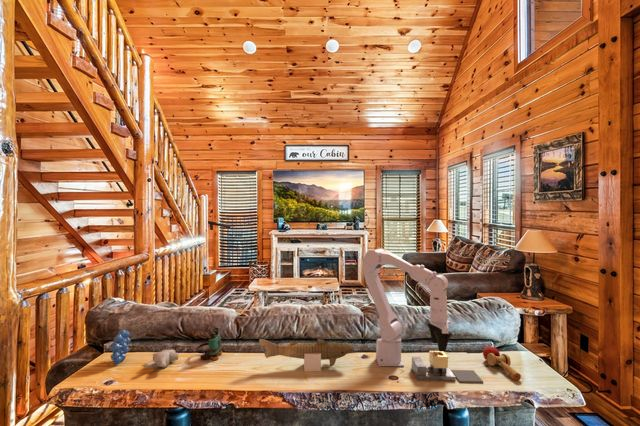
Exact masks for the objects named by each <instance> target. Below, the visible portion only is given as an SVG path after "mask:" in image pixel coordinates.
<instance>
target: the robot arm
mask: <svg viewBox="0 0 640 426" xmlns="http://www.w3.org/2000/svg"><path fill="white" fill-rule="evenodd" d="M362 261H363V271H362V274H363V277H364V279H365V283H366V284H367V287H368V289H369V293H370V295H371V298H372V301H373V303H374V305H375V308H376V310H377V313H378V316H379V318H378V327H379V335H380V338H376V341H375V342H376V345H375V346H376V349H375V350H376V351H375V353H376V354H375V358H376V361H377V365H378V366H379V367H404V366H405V365H404V362H403V361H402V337H401V334H403V332H404V329H405V328H404V325H403V323H402V321H401V320H400V319H399V317H398V315H397V314H396V313H394V311H393V310H392V308H391V307H392V306H391V304H390V302H389V300H388V296H387V294H386V292H385V289H384V286H383V284H382V281H381V279H380V276H379V272H380V270H381V268H382V267H383V266H385V265H391V266H393V267H396V268H398V269H399V270H401V271H403V272H405V273H408V274H409V276H410V279H412V280H414V281H415V282H418V283H420V284H422V285H423V286H425V287H427V288H428V289H429V291H430V292H429V293H430V295H429V305H430V306H429V308H430V309H429V312H430V313H429V321H428V322H426V325H427V327H428V330H429V333H430V338H431V342H432V343H433V344H437V348H438V351H444V352H447V349H448V348H447V347H448V343H449V340H450V339H451V337H452V335H453V333H452V332H451V331H450V330H449V327H448V326H449V325H450V324H451V320H449V319H448V296H447V288H448V286H449V280H448V278H447V277H446V276H445V275H444V274H443V273H437V271H432V270H430V269H428V268H426V267H425V265H424V264H415V265H414V264H411V262H408V261H406V260H404V259H403V258H401V257H400V256H398V255H397V254H394V253H393V252H391V251H390V250H386V249H384V248H383V247H381V248H380V247H379V248H376V249H371V250H368V251H366V253H365V254H364V256H363V258H362Z"/></svg>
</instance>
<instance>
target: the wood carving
mask: <svg viewBox="0 0 640 426" xmlns="http://www.w3.org/2000/svg"><path fill="white" fill-rule="evenodd" d="M316 339H317V341H316V342H312V343H307V342H306V343H297V342H296V341H294V340H291V341H290V343H288V344H280V343H278V344H275V343H273V342H271V341H269V340H268V339H267V340H266V339H262V338H259V340H258V341H259V344H260V347H261V349H262V351H263V354H264V357H265V358H266V359H269V358H270V357H276V356H282V357H288V358H292V359H293V358H295V359H299V360H300V359H302V360H303V368H304V370H303V371H304V372H321V371H322V361H324V360H325V361H326V360H328V361H329V367H330V368H331V367H333V366H334V365H335V364H336V362H337V359H340V358H343V357H345V356H346V355H348V354H349V353H351V352H352V351H354V346H353V344H350V343H344V342H326V341H325V339H324V338H322V337H317V338H316ZM263 346H264V347H265V350H264V348H263Z"/></svg>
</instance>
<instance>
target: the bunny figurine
mask: <svg viewBox="0 0 640 426" xmlns="http://www.w3.org/2000/svg"><path fill="white" fill-rule="evenodd" d="M179 357H180V356H179V353H178V352H176V350H175V349H162V351H157V352H156V353H153V354H152V360H150V361H147V362H145V363H144V365H143V368H148V367H150V366H153V368H155V369H158V368H163V369H164V368H167V367H169V366H170V363H171V362H174V361H175V362H176V361H178V360H179Z"/></svg>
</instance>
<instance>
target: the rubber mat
mask: <svg viewBox="0 0 640 426" xmlns="http://www.w3.org/2000/svg"><path fill="white" fill-rule="evenodd" d="M450 370H451V371H452V373H453V374H454V375H455V377H456V380H457V382H458V383H459V384H460V383H461V384H462V383H464V384H465V383H467V384H470V383H471V384H476V383H477V384H484V381H483V379H482V378H481V377H480V376H479V375H478V374H477V373H476V371H475V370H473V369H470V370H469V369H467V370H465V369H450Z"/></svg>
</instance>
